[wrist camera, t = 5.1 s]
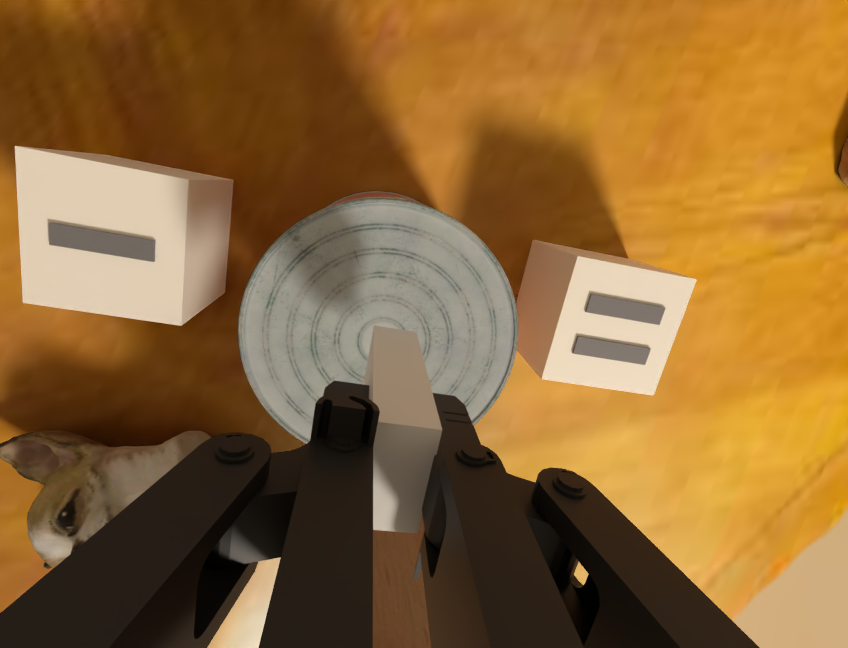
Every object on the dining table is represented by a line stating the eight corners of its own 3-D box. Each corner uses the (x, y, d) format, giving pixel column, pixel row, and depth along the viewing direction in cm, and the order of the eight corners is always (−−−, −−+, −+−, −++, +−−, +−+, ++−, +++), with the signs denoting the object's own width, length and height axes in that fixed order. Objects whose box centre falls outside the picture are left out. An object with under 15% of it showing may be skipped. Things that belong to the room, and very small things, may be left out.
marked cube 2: (106, 273, 28) (20, 303, 21) (106, 154, 26) (12, 145, 19) (225, 292, 29) (180, 326, 22) (234, 179, 27) (187, 179, 20)
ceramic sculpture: (233, 617, 26) (-27, 658, 26) (274, 511, 34) (77, 542, 34) (173, 457, 22) (-124, 504, 23) (235, 383, 31) (17, 417, 31)
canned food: (498, 269, 30) (573, 321, 19) (391, 390, 32) (401, 505, 21) (364, 150, 27) (359, 129, 16) (254, 292, 29) (179, 364, 18)
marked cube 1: (506, 337, 32) (542, 380, 25) (532, 239, 30) (579, 256, 23) (597, 352, 33) (655, 396, 26) (627, 258, 31) (698, 279, 24)
